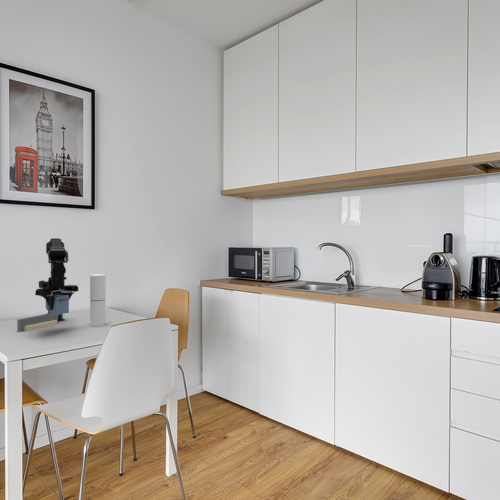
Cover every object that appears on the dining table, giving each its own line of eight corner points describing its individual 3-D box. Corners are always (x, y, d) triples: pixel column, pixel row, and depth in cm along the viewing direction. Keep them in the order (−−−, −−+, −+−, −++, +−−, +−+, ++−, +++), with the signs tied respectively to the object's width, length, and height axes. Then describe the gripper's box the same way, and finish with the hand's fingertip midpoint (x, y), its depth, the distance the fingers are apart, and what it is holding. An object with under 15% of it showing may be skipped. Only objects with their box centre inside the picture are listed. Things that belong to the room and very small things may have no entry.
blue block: (58, 311, 185) (57, 294, 185) (70, 312, 182) (70, 295, 181) (45, 313, 179) (45, 296, 179) (58, 315, 176) (57, 297, 176)
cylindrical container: (91, 326, 191) (91, 275, 190) (88, 324, 197) (88, 274, 196) (107, 325, 195) (106, 275, 194) (103, 322, 201) (103, 274, 200)
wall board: (55, 322, 199) (55, 312, 199) (60, 323, 197) (60, 312, 197) (17, 331, 181) (17, 319, 181) (22, 332, 179) (22, 320, 179)
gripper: (62, 272, 192) (63, 304, 192) (27, 275, 175) (27, 310, 175) (79, 273, 187) (79, 306, 188) (43, 277, 170) (44, 312, 171)
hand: (57, 308), depth 180 cm, fingers closed on blue block, 6 cm apart
